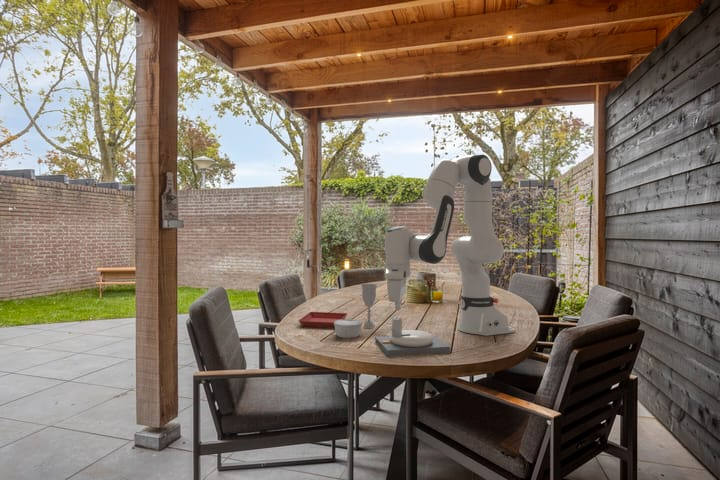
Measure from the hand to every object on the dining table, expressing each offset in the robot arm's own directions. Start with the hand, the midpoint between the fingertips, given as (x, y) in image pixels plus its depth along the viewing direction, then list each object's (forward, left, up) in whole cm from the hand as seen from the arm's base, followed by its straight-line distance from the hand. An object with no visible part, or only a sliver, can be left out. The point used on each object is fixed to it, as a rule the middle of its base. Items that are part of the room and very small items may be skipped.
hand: (398, 309), depth 148 cm
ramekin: (+15, -17, -13) cm, 27 cm away
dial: (-4, +4, -10) cm, 12 cm away
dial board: (-4, +4, -13) cm, 14 cm away
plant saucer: (+22, -39, -13) cm, 47 cm away
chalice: (+4, -28, -13) cm, 31 cm away
